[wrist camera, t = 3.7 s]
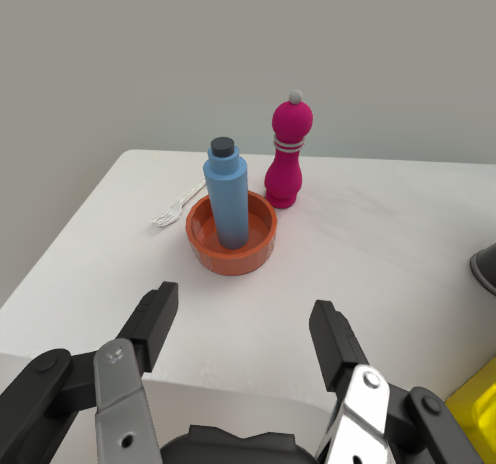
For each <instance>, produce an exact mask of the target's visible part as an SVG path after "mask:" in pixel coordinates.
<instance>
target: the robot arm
mask: <svg viewBox="0 0 496 464" xmlns="http://www.w3.org/2000/svg"><path fill="white" fill-rule="evenodd" d="M471 267H472V270H473V272H474V274H475V276H476V277H477V279H478V280H479V281H480V282H481V283H482V284H483V285H484V286H485V287H486V288H487V289H488V290H489V291H491V292H492V293H493V294H495V295H496V243H494V244H493V245H491V246H489V247H488V248H486V249H484V250H481V251H479V252H478V253H476V254H475V255H474V256H473V257H472V259H471ZM177 309H178V283H175V282H166V281H164V282H163V283H162V284H161V286H160V288H159V289H158V290H151V291H150V292H148V293H147V294H146V295H144V296H143V298H142V299H141V301H140V302H139V305H137V307H136V308H135V310H134V312H133V313H132V314H131V316H130V318H129V319H128V321H127V322H126V324H125V325H124V327H123V328H122V330H121V331H120V333H119V334H118V336H117V337H116V338H115V339H114V340H111V341H109V342H107V343H106V344H104V345H103V346H102V347H101V348H100V349H99V350H97V351H94V352H90V353H84V354H79V355H74V356H71V354H70V352H69V351H68V350H66V349H53V350H50V351H47V352H45V353H43V354H41V355H39V356H37V357H36V358H35V359H33V360H32V361H31V362H30V363H29V364H28V365H27V366H26V367H25V368H24V369H23V370H22V372H21V373H20V374H19V375H18V376H17V377H16V378H15V379H14V381H13V382H12V383H11V384H10V385H9V386H8V387H7V388H6V389H5V390H4V392H3V393H2V394H1V395H0V464H49V463H50V462H51V460H52V458H53V456H54V455H55V453H56V451H57V449H58V448H59V446H60V444H61V442H62V441H63V439H64V437H65V435H66V434H67V432H68V430H69V428H70V426H71V425H72V423H73V421H74V419H75V418H76V416H77V414H78V412H79V411H81V410H85V409H88V408H92V407H96V406H97V413H96V414H95V426H96V441H97V456H98V464H386V461H387V453H388V444H389V446H390V449H391V451H392V454H393V457H394V459H395V462H396V464H484V462H483V460H482V459H481V457H480V456H479V454H478V453H477V451H476V450H475V448H474V447H473V445H472V444H471V442H470V441H469V439H468V438H467V436H466V435H465V433H464V432H463V430H462V428H461V427H460V425H459V424H458V422H457V421H456V419H455V418H454V416H453V415H452V413H451V412H450V410H449V409H448V407H447V406H446V405H445V403H444V402H443V401H442V400H441V399H440V398H439V397H438V396H436V395H435V394H434V393H432V392H431V391H429V390H427V389H425V388H423V387H414V388H412V389H411V391H410V392H408V391H406V390H404V389H401V388H399V387H397V386H394V385H392V384H390V383H388V382H387V381H386V379H385V378H384V377H383V375H382V374H381V373H380V372H379V371H377V370H376V369H375V368H373V367H371V366H370V365H369V363H368V361H367V359H366V357H365V355H364V353H363V351H362V349H361V347H360V345H359V343H358V341H357V339H356V337H355V335H354V333H353V331H352V330H351V326H350V324H349V322H348V320H347V319H346V318H345V317H344V316H343V315H342V314H341V312H338V311H336V310H335V308H334V306H333V304H332V302H331V301H325V300H316V302H315V305H314V307H313V310H312V313H311V316H310V319H309V329H310V333H311V337H312V340H313V344H314V347H315V351H316V354H317V358H318V361H319V365H320V369H321V372H322V376H323V379H324V383H325V386H326V390H327V392H335V393H336V396H337V400H336V402H335V405H334V408H333V411H332V413H331V416H330V419H329V422H328V425H327V428H326V430H325V433H324V436H323V439H322V441H321V443H320V445H319V448H318V450H317V452H316V454H315V457H313V456H312V455H311V454H310V453H308V452H307V451H306V450H305V449H304V448H302V447H300V446H298V445H296V444H295V436H294V434H283V433H273V432H268V433H264V434H260V435H256V436H252V437H248V438H244V439H243V438H239V437H237V436H235V435H232V434H230V433H228V432H226V431H224V430H221V429H219V428H217V427H210V426H200V425H190V428H189V433H188V434H184V435H181V436H179V437H176V438H175V439H173V440H172V441H170V442H168V443H167V444H165V445H164V446H163V447H162V448H161V449H159V445H158V442H157V437H156V433H155V429H154V425H153V421H152V417H151V413H150V409H149V405H148V401H147V397H146V393H145V390H144V387H143V384H142V380H141V378H142V375H143V373H144V372H148V373H151V372H152V370H153V368H154V365H155V363H156V361H157V358H158V356H159V353H160V351H161V349H162V346H163V344H164V342H165V339H166V337H167V335H168V332H169V330H170V327H171V325H172V323H173V320H174V318H175V316H176V313H177ZM384 438H385V439H387V441H388V443H387V441H386V440H385V439H384Z"/></svg>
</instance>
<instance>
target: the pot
mask: <svg viewBox="0 0 496 464" xmlns="http://www.w3.org/2000/svg"><path fill="white" fill-rule="evenodd" d="M276 228H277V217H276V213H275V210H274V208H273V207H272V206H271V204H270V203H269V202H268V201H267V200H266V199H265V198H263V197H262V196H261V195H259V194H257V193H254V192H251V191H249V190H248V232H249V238H248V241H247V243H246V244H245V245H244V246H243V247H241V248H238V249H227V248H225V247H223V246H222V245H221V244H220V242H219V239H218V234H217V230H216V225H215V221H214V216H213V212H212V207H211V203H210V198H209V195H207V196H205V197H203V198H202V199H200V200H199V201H198V202H197V203H196V204H195V205H194V206H193V207H192V208H191V210H190V212H189V214H188V216H187V218H186V228H185V229H186V233H187V236H188V239H189V241H190V244H191V246H192V248H193V251H194V253H195V255H196V257H197V259H198V260H199V261H200V263H201V264H202V265H203V266H205V267H206V268H207V269H209V270H211V271H212V272H215V273H217V274H221V275H228V276H236V275H242V274H246V273H249V272H252V271H254V270H255V269H257V268H259V267H260V266H261V265H262V264H263V263H265V262H266V260H267V259H268V258H269V256H270V254H271V252H272V250H273V246H274V240H275V234H276Z"/></svg>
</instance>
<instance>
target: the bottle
mask: <svg viewBox="0 0 496 464" xmlns="http://www.w3.org/2000/svg"><path fill="white" fill-rule="evenodd" d="M208 158H209V159H208V160H207V161H206V162H205V164H204V166H203V171H204V176H205V180H206V185H207V189H208V194H209V198H210V203H211V207H212V212H213V216H214V221H215V225H216V230H217V234H218V239H219V242H220V244H221V245H222V246H223V247H225V248H227V249H238V248H241V247H243V246H244V245H245V244H246V243H247V241H248V238H249V232H248V184H247V163H246V161H245V160H244V159H243V158H242V157H240V156H239V149H238V147H237V146H235V145H234V141H233V140H232V139H230V138H227V137H219V138H216V139H214V140H213V141H212V142H211V147H210V148H209V150H208Z"/></svg>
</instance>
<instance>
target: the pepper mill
mask: <svg viewBox="0 0 496 464" xmlns="http://www.w3.org/2000/svg"><path fill="white" fill-rule="evenodd" d="M289 100H290V101H287V102H284V103H282V104H281V105H280V106H279V107H278V108H277V109H276V110H275V113H274V115H273V119H272V127H273V130H274V132H275V133H276V134H275V135H274V146H275V147H276V154H275V158H274V161H273V163H272V164H271V166H270V167H269V169H268V171H267V173H266V176H265V181H264V184H265V187H266V189H267V190H266V200H267V201H268V202H269V203H270V204H271V206H273V207H276V208H288V207H290V206H292V205H293V204H294V202H295V200H296V196H297V192H298V191H299V190H300V188H301V185H302V173H301V170H300V167H299V162H298V157H299V152H300V150H301V149H302V148H303V147H304V142H305V135H306V134H307V133H308V132H309V131H310V129H311V127H312V121H313V115H312V111H311V109H310V108H309V107H308V106H307V105H306V104H305V103H303V102H301V100H302V93H301V92H300V91H299V90H294V91H292V92H291V94H290V96H289Z"/></svg>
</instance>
